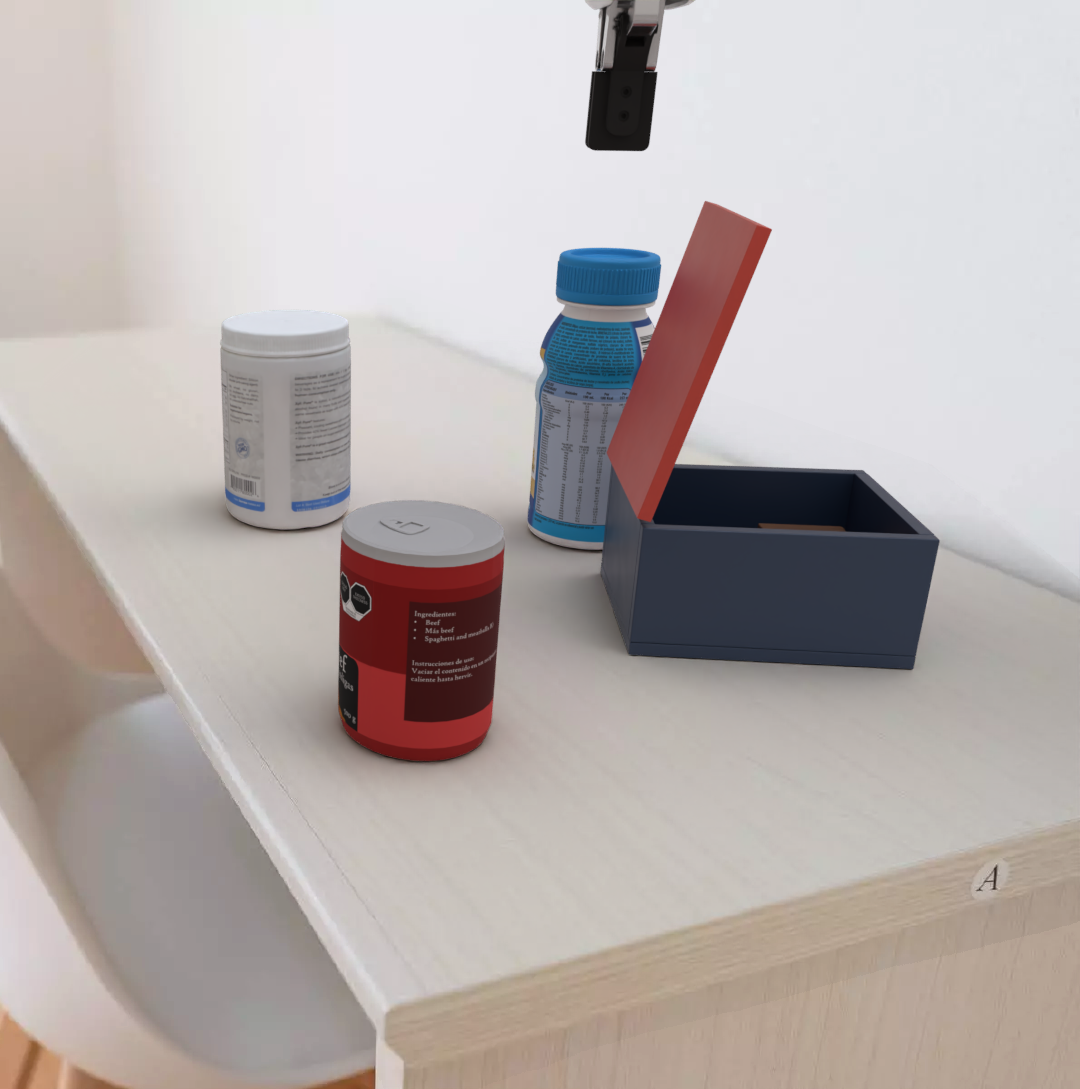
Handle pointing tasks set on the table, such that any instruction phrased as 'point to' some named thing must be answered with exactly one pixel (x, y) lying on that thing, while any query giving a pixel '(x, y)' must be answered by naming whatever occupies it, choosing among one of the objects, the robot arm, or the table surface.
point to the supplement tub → (286, 417)
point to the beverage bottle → (587, 387)
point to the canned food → (419, 627)
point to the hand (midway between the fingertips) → (616, 149)
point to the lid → (684, 352)
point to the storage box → (769, 568)
